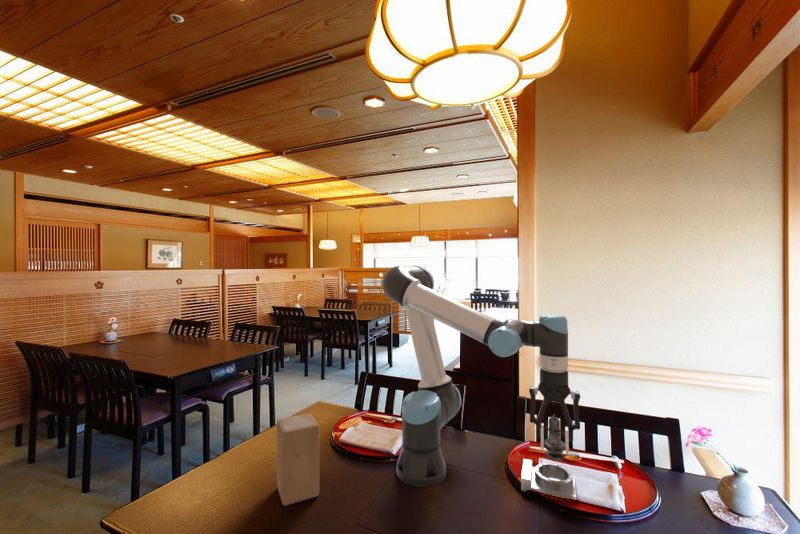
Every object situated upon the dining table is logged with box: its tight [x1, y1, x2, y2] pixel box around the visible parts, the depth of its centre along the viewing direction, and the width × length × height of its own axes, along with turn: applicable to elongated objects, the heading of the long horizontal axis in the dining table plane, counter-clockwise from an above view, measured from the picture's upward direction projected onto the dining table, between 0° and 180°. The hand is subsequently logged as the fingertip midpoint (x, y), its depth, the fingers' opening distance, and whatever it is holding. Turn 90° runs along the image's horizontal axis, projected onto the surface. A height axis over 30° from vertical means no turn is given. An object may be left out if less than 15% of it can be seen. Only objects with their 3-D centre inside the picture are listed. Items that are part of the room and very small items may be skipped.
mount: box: [520, 458, 577, 499], centre depth 104 cm, size 14×11×4 cm
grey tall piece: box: [544, 413, 566, 462], centre depth 103 cm, size 6×6×12 cm
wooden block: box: [276, 413, 320, 506], centre depth 101 cm, size 10×10×20 cm
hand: (554, 449), depth 103 cm, fingers closed on grey tall piece, 6 cm apart
